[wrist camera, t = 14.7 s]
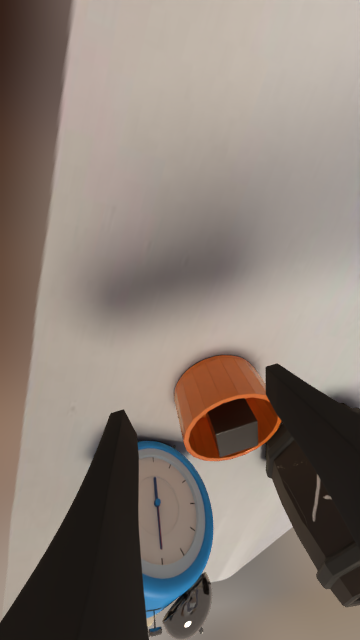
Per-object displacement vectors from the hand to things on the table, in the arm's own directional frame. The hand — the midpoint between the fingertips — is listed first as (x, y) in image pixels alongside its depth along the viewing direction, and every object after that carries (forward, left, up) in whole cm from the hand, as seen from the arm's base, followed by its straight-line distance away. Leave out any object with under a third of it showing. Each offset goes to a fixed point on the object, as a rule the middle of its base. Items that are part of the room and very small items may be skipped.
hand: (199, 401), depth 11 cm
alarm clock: (+8, +20, -11) cm, 24 cm away
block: (-3, +12, -10) cm, 16 cm away
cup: (-3, +12, -10) cm, 16 cm away
